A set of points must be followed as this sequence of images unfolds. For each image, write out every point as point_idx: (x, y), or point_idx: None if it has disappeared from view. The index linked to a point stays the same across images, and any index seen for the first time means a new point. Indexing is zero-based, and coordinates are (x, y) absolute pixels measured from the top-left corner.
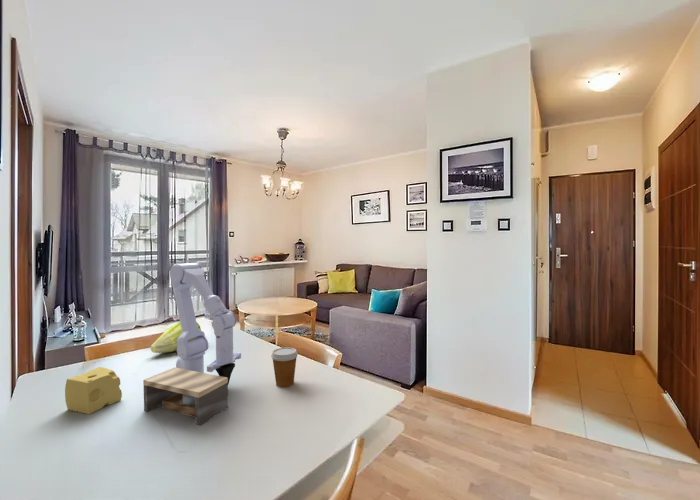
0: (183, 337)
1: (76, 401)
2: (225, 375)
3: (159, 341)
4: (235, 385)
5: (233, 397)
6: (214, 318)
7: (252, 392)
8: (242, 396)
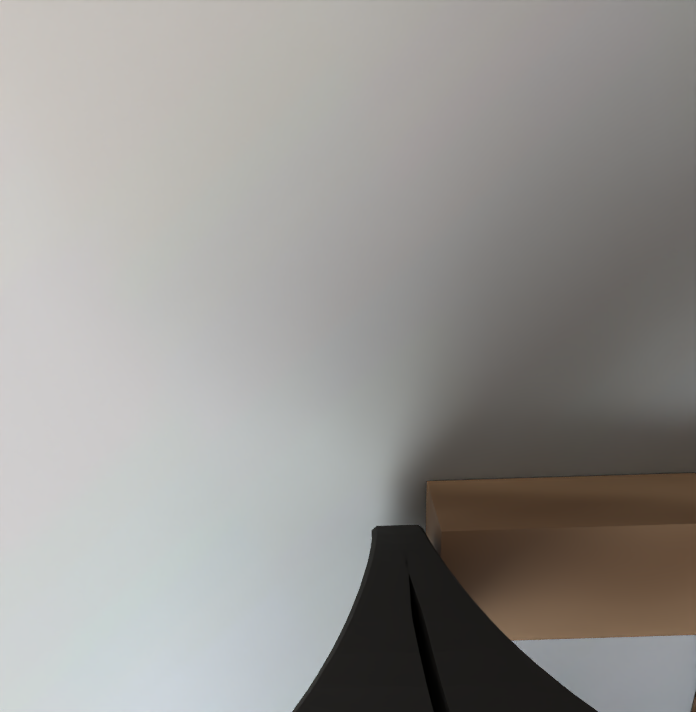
0: None
1: None
2: (524, 656)
3: None
4: (280, 464)
5: (618, 205)
6: None
7: (364, 23)
8: (548, 86)
